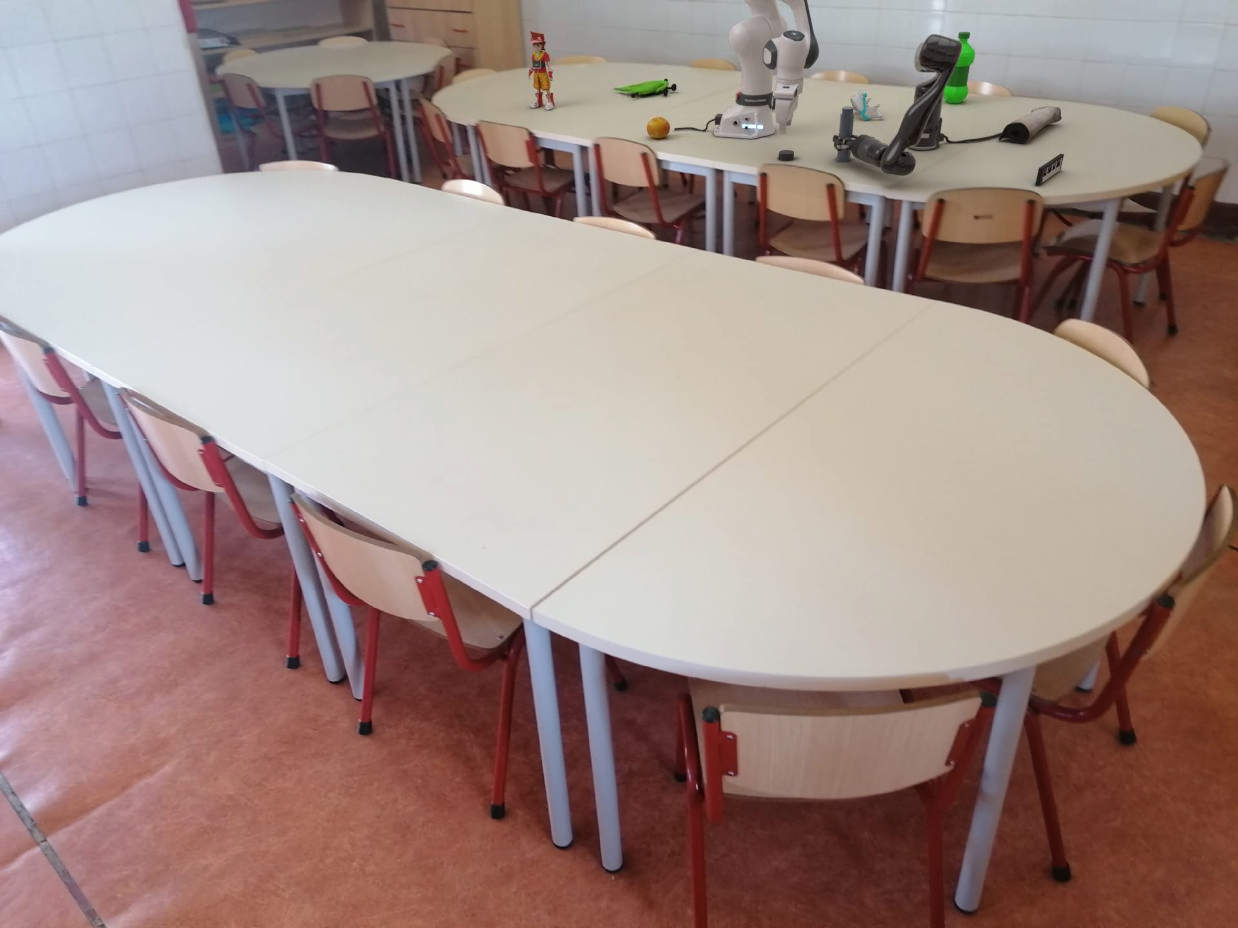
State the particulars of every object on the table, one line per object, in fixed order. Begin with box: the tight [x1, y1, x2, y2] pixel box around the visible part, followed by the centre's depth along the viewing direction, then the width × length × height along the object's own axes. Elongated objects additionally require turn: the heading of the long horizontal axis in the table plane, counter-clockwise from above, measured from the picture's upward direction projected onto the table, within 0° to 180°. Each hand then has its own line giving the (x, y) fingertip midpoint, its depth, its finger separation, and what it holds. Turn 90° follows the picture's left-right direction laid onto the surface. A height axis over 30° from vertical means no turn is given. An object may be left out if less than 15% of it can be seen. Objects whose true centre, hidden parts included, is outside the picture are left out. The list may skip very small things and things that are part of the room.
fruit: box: [646, 116, 671, 139], centre depth 333 cm, size 8×8×8 cm
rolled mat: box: [998, 105, 1063, 144], centre depth 313 cm, size 30×9×10 cm
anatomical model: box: [849, 89, 885, 121], centre depth 342 cm, size 15×10×10 cm
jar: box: [836, 105, 855, 163], centre depth 296 cm, size 4×4×17 cm
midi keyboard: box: [1035, 153, 1065, 186], centre depth 273 cm, size 18×1×5 cm, turn 138°
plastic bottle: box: [943, 31, 976, 104], centre depth 348 cm, size 10×10×25 cm
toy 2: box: [612, 78, 677, 99], centre depth 396 cm, size 28×5×30 cm
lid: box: [777, 149, 795, 162], centre depth 304 cm, size 5×5×2 cm
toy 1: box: [527, 31, 556, 111], centre depth 374 cm, size 12×9×30 cm
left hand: (785, 129), depth 300 cm, fingers open, 8 cm apart
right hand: (840, 137), depth 299 cm, fingers closed on jar, 4 cm apart
